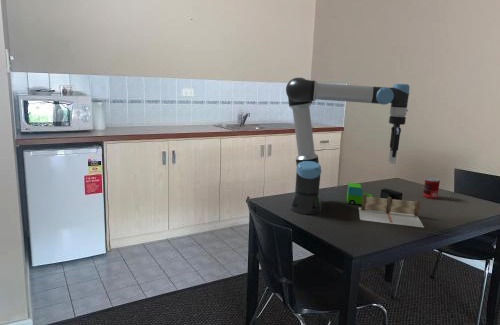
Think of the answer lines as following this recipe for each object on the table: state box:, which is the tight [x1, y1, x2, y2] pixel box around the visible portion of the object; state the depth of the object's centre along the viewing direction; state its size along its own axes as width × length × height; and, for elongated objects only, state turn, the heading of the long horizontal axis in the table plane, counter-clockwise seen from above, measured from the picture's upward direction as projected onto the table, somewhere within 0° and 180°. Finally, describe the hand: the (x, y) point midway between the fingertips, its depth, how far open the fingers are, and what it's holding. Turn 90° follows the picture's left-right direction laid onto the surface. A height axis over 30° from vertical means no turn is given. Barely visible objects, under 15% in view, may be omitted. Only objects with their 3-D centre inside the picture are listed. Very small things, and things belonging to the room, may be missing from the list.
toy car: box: [346, 182, 374, 205], centre depth 207 cm, size 10×13×10 cm
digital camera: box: [379, 187, 403, 203], centre depth 211 cm, size 10×5×7 cm, turn 39°
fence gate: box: [390, 199, 421, 217], centre depth 192 cm, size 13×2×7 cm, turn 77°
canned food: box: [422, 176, 441, 200], centre depth 226 cm, size 8×8×11 cm
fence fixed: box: [360, 193, 392, 213], centre depth 194 cm, size 14×2×8 cm, turn 77°
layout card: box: [358, 206, 425, 228], centre depth 188 cm, size 28×19×1 cm
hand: (391, 162), depth 197 cm, fingers open, 4 cm apart
